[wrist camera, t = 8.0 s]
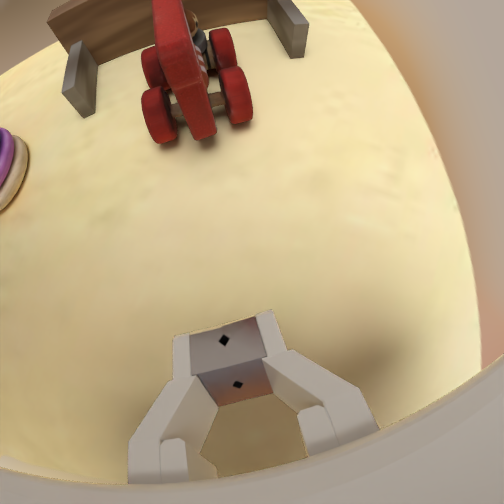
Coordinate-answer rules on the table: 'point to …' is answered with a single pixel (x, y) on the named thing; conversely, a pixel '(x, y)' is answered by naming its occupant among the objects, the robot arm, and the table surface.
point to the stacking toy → (11, 165)
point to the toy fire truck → (190, 75)
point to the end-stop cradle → (150, 33)
